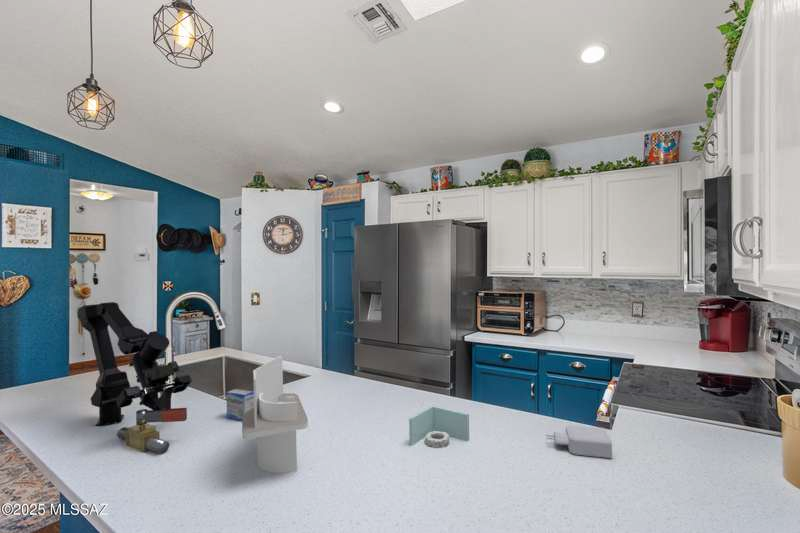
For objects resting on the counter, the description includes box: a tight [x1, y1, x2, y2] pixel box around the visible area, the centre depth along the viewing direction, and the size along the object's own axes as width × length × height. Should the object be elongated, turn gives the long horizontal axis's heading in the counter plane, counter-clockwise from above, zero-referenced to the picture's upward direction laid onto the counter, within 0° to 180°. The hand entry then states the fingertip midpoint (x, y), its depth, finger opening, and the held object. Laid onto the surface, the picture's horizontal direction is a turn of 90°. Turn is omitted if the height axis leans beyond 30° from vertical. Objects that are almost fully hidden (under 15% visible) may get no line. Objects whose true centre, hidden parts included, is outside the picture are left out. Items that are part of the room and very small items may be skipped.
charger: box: [545, 424, 613, 459], centre depth 104 cm, size 5×9×15 cm
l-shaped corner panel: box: [408, 404, 470, 449], centre depth 109 cm, size 12×12×8 cm
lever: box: [135, 407, 188, 425], centre depth 110 cm, size 3×13×4 cm, turn 97°
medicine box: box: [226, 388, 254, 422], centre depth 129 cm, size 8×4×9 cm, turn 68°
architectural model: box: [241, 354, 309, 474], centre depth 103 cm, size 28×21×23 cm
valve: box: [116, 423, 170, 455], centre depth 110 cm, size 20×4×6 cm, turn 61°
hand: (166, 415), depth 112 cm, fingers closed
